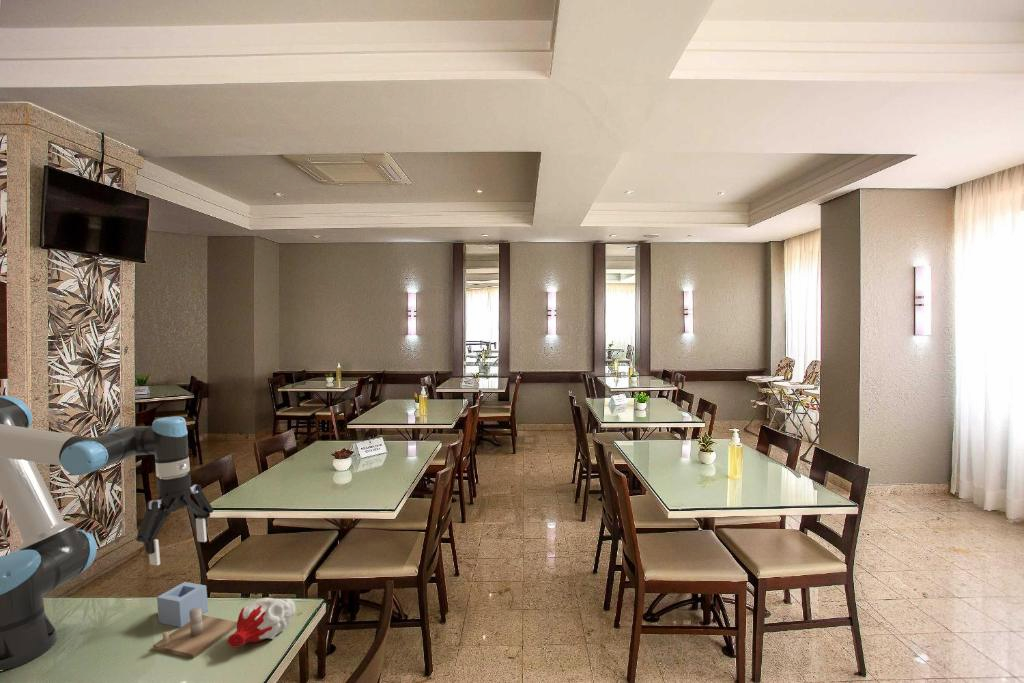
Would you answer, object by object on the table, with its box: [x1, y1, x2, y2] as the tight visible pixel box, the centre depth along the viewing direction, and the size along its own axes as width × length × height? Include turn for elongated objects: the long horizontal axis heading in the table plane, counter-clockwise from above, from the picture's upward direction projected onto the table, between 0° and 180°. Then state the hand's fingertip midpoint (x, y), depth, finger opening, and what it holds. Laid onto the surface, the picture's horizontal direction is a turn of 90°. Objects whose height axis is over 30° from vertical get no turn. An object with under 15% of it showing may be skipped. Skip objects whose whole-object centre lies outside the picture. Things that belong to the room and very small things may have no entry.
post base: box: [152, 607, 237, 659], centre depth 128 cm, size 13×13×7 cm
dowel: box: [162, 631, 170, 647], centre depth 124 cm, size 1×1×3 cm
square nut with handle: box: [156, 581, 209, 628], centre depth 138 cm, size 12×8×7 cm
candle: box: [226, 597, 297, 648], centre depth 127 cm, size 9×11×15 cm
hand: (179, 552), depth 137 cm, fingers open, 13 cm apart
